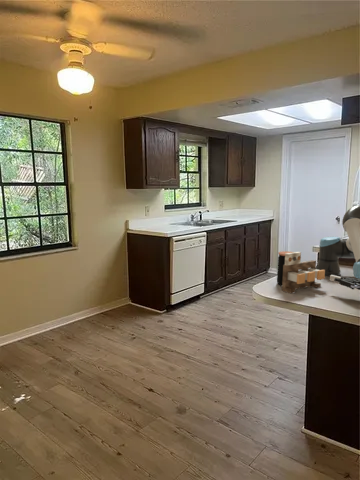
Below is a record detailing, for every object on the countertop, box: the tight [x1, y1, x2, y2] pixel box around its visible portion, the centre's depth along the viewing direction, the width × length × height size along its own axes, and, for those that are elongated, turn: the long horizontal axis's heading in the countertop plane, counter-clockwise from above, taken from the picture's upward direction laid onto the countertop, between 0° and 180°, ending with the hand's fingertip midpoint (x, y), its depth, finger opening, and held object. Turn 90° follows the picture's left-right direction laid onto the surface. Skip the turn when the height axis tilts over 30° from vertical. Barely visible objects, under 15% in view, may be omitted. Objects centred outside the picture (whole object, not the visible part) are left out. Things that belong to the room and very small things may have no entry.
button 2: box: [308, 268, 326, 281], centre depth 194 cm, size 5×8×5 cm, turn 32°
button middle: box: [298, 270, 316, 282], centre depth 189 cm, size 5×8×5 cm, turn 32°
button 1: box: [288, 272, 305, 284], centre depth 185 cm, size 5×8×5 cm, turn 32°
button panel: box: [281, 251, 322, 294], centre depth 191 cm, size 24×6×20 cm, turn 122°
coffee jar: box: [276, 250, 294, 286], centre depth 200 cm, size 11×11×18 cm
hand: (330, 277), depth 185 cm, fingers closed
